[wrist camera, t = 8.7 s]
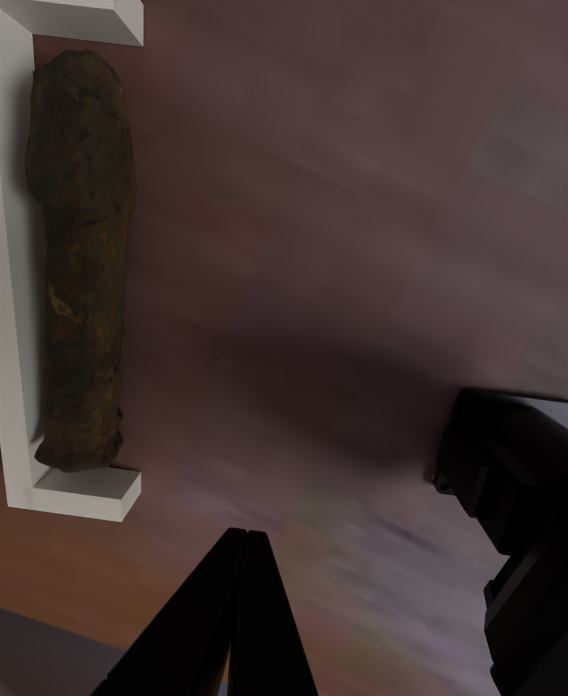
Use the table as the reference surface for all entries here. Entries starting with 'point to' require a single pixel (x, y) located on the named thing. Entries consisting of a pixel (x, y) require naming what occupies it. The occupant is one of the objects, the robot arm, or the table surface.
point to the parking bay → (42, 265)
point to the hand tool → (81, 252)
